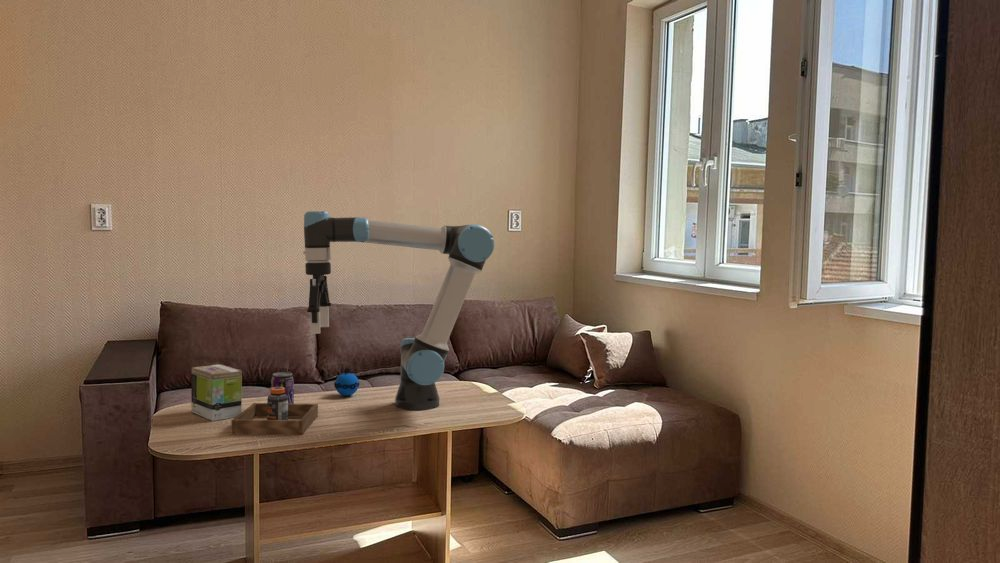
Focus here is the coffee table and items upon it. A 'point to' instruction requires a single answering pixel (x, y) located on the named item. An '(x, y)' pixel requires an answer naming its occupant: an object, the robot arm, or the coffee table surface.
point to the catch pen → (275, 427)
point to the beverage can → (284, 384)
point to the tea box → (216, 392)
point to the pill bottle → (277, 404)
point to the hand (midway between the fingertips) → (320, 330)
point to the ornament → (346, 383)
